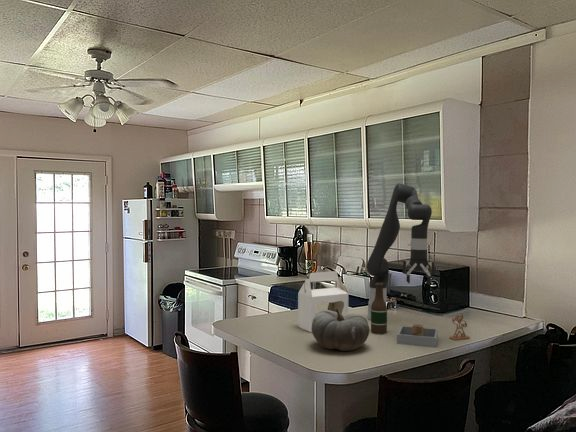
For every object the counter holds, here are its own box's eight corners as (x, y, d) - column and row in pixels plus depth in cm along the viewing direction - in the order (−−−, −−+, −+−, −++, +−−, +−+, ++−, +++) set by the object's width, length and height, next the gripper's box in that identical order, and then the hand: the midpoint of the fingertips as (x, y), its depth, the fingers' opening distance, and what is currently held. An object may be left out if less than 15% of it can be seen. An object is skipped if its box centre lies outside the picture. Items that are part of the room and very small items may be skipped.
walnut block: (412, 341, 224) (412, 326, 224) (413, 338, 228) (413, 323, 228) (422, 342, 223) (422, 326, 222) (423, 339, 227) (423, 324, 227)
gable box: (334, 322, 260) (334, 269, 259) (348, 327, 248) (349, 272, 247) (297, 326, 249) (297, 271, 248) (310, 332, 237) (311, 275, 237)
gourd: (306, 332, 227) (313, 296, 225) (358, 341, 229) (366, 305, 227) (311, 354, 202) (319, 314, 200) (370, 363, 204) (378, 324, 202)
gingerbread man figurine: (464, 336, 232) (464, 311, 232) (469, 338, 229) (470, 313, 229) (448, 338, 229) (449, 312, 229) (454, 340, 226) (455, 314, 225)
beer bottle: (387, 331, 242) (388, 282, 241) (385, 335, 234) (386, 284, 234) (372, 329, 244) (372, 281, 244) (369, 333, 237) (369, 283, 236)
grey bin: (397, 343, 220) (397, 334, 220) (401, 334, 236) (401, 325, 236) (435, 347, 215) (436, 338, 215) (437, 337, 231) (437, 329, 231)
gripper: (402, 248, 223) (401, 284, 224) (434, 249, 219) (434, 286, 219) (403, 247, 230) (403, 281, 231) (435, 248, 226) (435, 283, 226)
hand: (418, 283), depth 225 cm, fingers open, 8 cm apart
